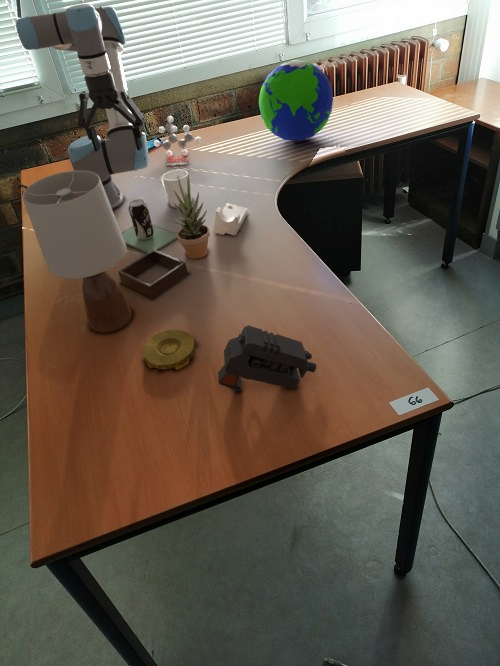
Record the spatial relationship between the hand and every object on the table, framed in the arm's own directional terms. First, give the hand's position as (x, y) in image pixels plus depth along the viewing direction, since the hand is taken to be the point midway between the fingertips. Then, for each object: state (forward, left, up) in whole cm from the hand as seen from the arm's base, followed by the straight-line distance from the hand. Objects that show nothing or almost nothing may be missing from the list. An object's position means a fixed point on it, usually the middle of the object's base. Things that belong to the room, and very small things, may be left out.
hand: (118, 149), depth 151 cm
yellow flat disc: (+55, -37, -26) cm, 71 cm away
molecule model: (-29, +46, -26) cm, 60 cm away
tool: (+80, -31, -26) cm, 90 cm away
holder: (+28, -18, -26) cm, 42 cm away
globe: (+3, +85, -26) cm, 89 cm away
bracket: (+27, +17, -26) cm, 41 cm away
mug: (-1, +19, -26) cm, 32 cm away
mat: (+8, -4, -26) cm, 28 cm away
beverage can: (+8, -4, -26) cm, 27 cm away
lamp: (+32, -37, -26) cm, 56 cm away
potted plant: (+29, -2, -26) cm, 39 cm away
